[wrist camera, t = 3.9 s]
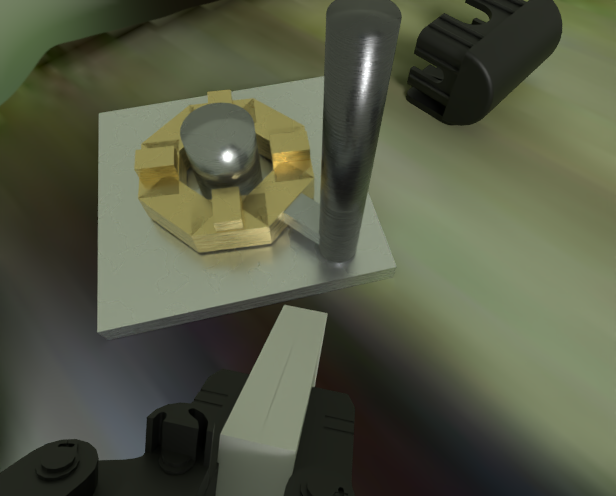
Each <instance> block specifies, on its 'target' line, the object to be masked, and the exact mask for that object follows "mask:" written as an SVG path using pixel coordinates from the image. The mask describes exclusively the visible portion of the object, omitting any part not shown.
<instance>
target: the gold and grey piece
mask: <svg viewBox="0 0 616 496" xmlns="http://www.w3.org/2000/svg"><path fill="white" fill-rule="evenodd" d="M400 23H401V12H400V10H399V8H398V7H397V6H396V5H395V4H394V3H393V2H392V1H390V0H335V1H333V2H332V3H331V4H330V6H329V7H328V9H327V13H326V41H325V70H324V100H323V129H322V159H321V188H320V204H319V203H317V202H316V201H314V200H313V199H312V198H313V197H314V173H313V168H312V163H311V158H310V146H309V141H308V136H307V131H305V127H304V125H302V124H300V123H298V122H296V121H295V120H293V119H291V118H289V117H287V116H285V115H284V114H282V113H280V112H278V111H276V110H274V109H272V108H271V107H269V106H267V105H265V104H263V103H261V102H260V101H258V100H256V99H254V98H251V99H241V100H233V99H232V94H231V89H230V90H220V91H211V92H207V93H208V103H203V104H194V105H189V106H188V107H186V108H185V109H184V110H183V111H181V112H180V113H179V114H178V115H176V116H175V117H174V118H173V119H171V120H170V121H169V122H168V123H166V124H165V125H164V126H163V127H161V128H160V129H159V130H158V131H156V132H155V133H154V134H153V135H152V136H150V137H149V138H148V139H147V140H145V141H144V142H143V143H142V144H141V149H139V150H136V151H135V165H134V170H135V172H136V174H137V175H138V177H139V190H138V200H139V201H140V203H141V205H142V206H143V208H144V210H145V211H146V213H147V215H148V216H149V217H150V218H151V219H153V220H154V221H155V222H157V223H158V224H160V225H161V226H162V227H164V228H165V229H167V230H168V231H169V232H171V233H172V234H174V235H175V236H176V237H178V238H179V239H181V240H182V241H183V242H185V243H186V244H187V245H189V246H190V247H192V248H193V249H194V250H196V251H197V252H199V253H201V252H209V251H217V250H225V249H233V248H240V247H248V246H256V245H264V244H272V242H273V241H274V240H275V239H276V238H277V237H278V236H279V235H280V234H281V232H282V231H283V230H284V229H285V228H286V227H287V226H288V225H289V226H290V227H292V228H293V229H295V230H297V231H298V232H300V233H301V234H303V235H304V236H306V237H308V238H309V239H311V240H312V241H314V242H315V243H317V244H319V251H320V253H321V255H322V256H323V257H324V258H325V259H326V260H328V261H330V262H333V263H344V262H347V261H349V260H350V259H351V258H352V257H353V256H354V255H355V253H356V250H357V245H358V240H359V235H360V229H361V224H362V219H363V214H364V209H365V204H366V199H367V193H368V188H369V183H370V178H371V173H372V168H373V162H374V157H375V152H376V147H377V142H378V137H379V132H380V126H381V121H382V116H383V111H384V106H385V101H386V95H387V90H388V85H389V80H390V75H391V70H392V65H393V59H394V54H395V49H396V44H397V39H398V34H399V28H400ZM212 103H231V104H235V105H237V106H240V107H242V108H243V109H245V110H246V111H247V112H248V113H249V114H250V115H251V117H252V118H253V121H254V126H255V132H256V139H257V145H258V152H259V154H261V155H263V156H264V157H266V158H268V159H269V160H271V161H272V166H273V171H272V172H271V173H270V174H269V175H268V176H267V177H266V178H265V179H264V180H263V181H262V182H261V183H260V184H259V185H258V186H257V187H255V188H254V189H253V190H252V191H251V192H250V193H249V194H248V195H243V196H241V194H240V190H239V186H238V187H229V188H221V189H212V199H209V200H207V199H206V198H204V197H203V196H201V195H200V194H198V193H197V192H195V191H194V190H192V189H191V188H189V187H188V186H187V170H188V169H189V168H190V167H191V165H190V162H189V159H188V157H187V154H186V151H185V148H184V146H183V143H182V140H181V137H180V128H181V125H182V123H183V121H184V120H185V118H186V117H187V116H188V115H189V114H190V113H191V112H193V111H194V110H196V109H197V108H199V107H202V106H204V105H207V104H212Z"/></svg>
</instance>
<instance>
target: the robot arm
mask: <svg viewBox="0 0 616 496" xmlns="http://www.w3.org/2000/svg"><path fill="white" fill-rule="evenodd" d="M327 314H328V313H323V312H318V311H313V310H308V309H303V308H298V307H292V306H287V305H284V307H283V309H282V311H281V313H280V315H279V317H278V319H277V321H276V323H275V325H274V327H273V329H272V331H271V333H270V335H269V337H268V339H267V341H266V343H265V345H264V347H263V349H262V351H261V353H260V355H259V357H258V359H257V361H256V363H255V365H254V367H253V369H252V371H251V373H250V375H249V374H244V373H240V372H235V371H231V370H226V369H221V370H220V371H218V372H216V373H215V374H213V375H212V376H210V377H209V378H208V379H207V381H206V382H205V384H204V385H203V387H202V388H201V391H200V392H199V393H198V394H197V396H196V397H195V399H194V402H192V403H191V404H190V403H175V404H168V405H166V406H163V407H161V408H159V409H156V410H155V411H154V412H153V413H151V414H150V415H149V416H148V417H147V428H146V445H145V453H144V455H143V456H141V457H138V458H134V459H126V460H101V461H98V455H97V451H96V449H95V448H94V447H93V446H92V445H91V444H89V443H88V442H84V441H81V440H77V439H71V440H59V441H55V442H52V443H48V444H46V445H44V446H42V447H40V448H38V449H36V450H34V451H32V452H31V453H29V454H28V455H26V456H25V457H23V458H22V459H20V460H19V461H17V462H16V463H14V464H13V465H11V466H10V467H8V468H7V469H5V470H4V471H2V472H1V473H0V496H355V494H354V492H353V489H352V482H351V476H352V456H353V434H354V415H355V407H354V405H353V403H352V401H351V399H350V398H349V396H348V394H344V393H339V392H334V391H330V390H325V389H320V388H316V387H314V386H315V381H316V375H317V370H318V364H319V358H320V353H321V347H322V342H323V336H324V331H325V325H326V319H327Z"/></svg>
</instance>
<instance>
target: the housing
mask: <svg viewBox="0 0 616 496" xmlns="http://www.w3.org/2000/svg"><path fill="white" fill-rule="evenodd" d="M231 94H232V99H233V100H241V99H251V98H254V99H256V100H258V101H260V102H261V103H263V104H265V105H267V106H269V107H271V108H272V109H274V110H276V111H278V112H280V113H282V114H284V115H285V116H287V117H289V118H291V119H293V120H295V121H296V122H298V123H300V124H302V125H304V127H305V131H307V136H308V141H309V146H310V158H311V163H312V168H313V173H314V197H313V198H312V199H313V200H314V201H316V202H317V203H319V204H320V188H321V159H322V129H323V100H324V76H323V77H317V78H310V79H304V80H298V81H292V82H286V83H280V84H274V85H268V86H262V87H256V88H250V89H243V90H237V91H231ZM203 103H208V95H207V96H201V97H195V98H189V99H183V100H176V101H170V102H164V103H158V104H152V105H146V106H140V107H134V108H128V109H122V110H115V111H109V112H103V113H99V164H98V318H97V332H98V333H99V334H100V335H102V336H103V337H105V338H106V339H107V340H111V339H116V338H121V337H125V336H130V335H134V334H139V333H143V332H148V331H152V330H157V329H161V328H166V327H170V326H175V325H179V324H184V323H188V322H193V321H197V320H202V319H206V318H211V317H215V316H220V315H224V314H229V313H234V312H238V311H243V310H247V309H252V308H256V307H261V306H265V305H270V304H274V303H279V302H283V301H288V300H292V299H297V298H301V297H306V296H310V295H315V294H319V293H324V292H328V291H333V290H337V289H342V288H346V287H351V286H356V285H360V284H365V283H369V282H374V281H378V280H383V279H387V278H392V277H393V275H394V272H395V270H396V264H395V261H394V259H393V256H392V253H391V251H390V248H389V246H388V243H387V240H386V238H385V235H384V232H383V230H382V227H381V224H380V222H379V219H378V217H377V214H376V211H375V209H374V206H373V203H372V201H371V198H370V196H369V193H367V199H366V204H365V209H364V214H363V219H362V224H361V229H360V235H359V240H358V245H357V250H356V253H355V255H354V256H353V257H352V258H351V259H350V260H349V261H347V262H344V263H333V262H330V261H328V260H326V259H325V258H324V257H323V256H322V255H321V253H320V251H319V244H317V243H315V242H314V241H312V240H311V239H309V238H308V237H306V236H304V235H303V234H301V233H300V232H298V231H297V230H295V229H293V228H292V227H290V226H289V225H288V226H287V227H286V228H285V229H284V230H283V231H282V232H281V234H280V235H279V236H278V237H277V238H276V239H275V240H274V241H273V242H272V244H264V245H256V246H248V247H240V248H233V249H225V250H217V251H209V252H201V253H199V252H197V251H196V250H194V249H193V248H192V247H190V246H189V245H187V244H186V243H185V242H183V241H182V240H181V239H179V238H178V237H176V236H175V235H174V234H172V233H171V232H169V231H168V230H167V229H165V228H164V227H162V226H161V225H160V224H158V223H157V222H155V221H154V220H153V219H151V218H150V217H149V216H148V215H147V213H146V211H145V210H144V208H143V206H142V205H141V203H140V201H139V200H138V190H139V177H138V175H137V174H136V172H135V170H134V165H135V151H136V150H139V149H141V144H142V143H143V142H144V141H145V140H147V139H148V138H149V137H150V136H152V135H153V134H154V133H155V132H156V131H158V130H159V129H160V128H161V127H163V126H164V125H165V124H166V123H168V122H169V121H170V120H171V119H173V118H174V117H175V116H176V115H178V114H179V113H180V112H181V111H183V110H184V109H185V108H186V107H188V106H189V105H194V104H203ZM180 137H181V140H182V143H183V146H184V148H185V151H186V154H187V157H188V159H189V162H190V165H191V167H190V168H189V169H188V170H187V186H188V187H189V188H191V189H192V190H194V191H195V192H197V193H198V194H200V195H201V196H203V197H204V198H206V199H207V200H209V199H212V189H221V188H229V187H238V186H239V190H240V194H241V196H243V195H248V194H249V193H250V192H251V191H252V190H253V189H254V188H255V187H257V186H258V185H259V184H260V183H261V182H262V181H263V180H264V179H265V178H266V177H267V176H268V175H269V174H270V173H271V172H272V171H273V166H272V161H271V160H269V159H268V158H266V157H264V156H263V155H261V154H259V152H258V145H257V139H256V132H255V126H254V121H253V118H252V117H251V115H250V114H249V113H248V112H247V111H246V110H245V109H243V108H242V107H240V106H237V105H235V104H231V103H212V104H207V105H204V106H202V107H199V108H197V109H196V110H194V111H193V112H191V113H190V114H189V115H188V116H187V117H186V118H185V120H184V121H183V123H182V125H181V128H180Z"/></svg>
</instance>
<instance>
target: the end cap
mask: <svg viewBox="0 0 616 496" xmlns="http://www.w3.org/2000/svg"><path fill="white" fill-rule="evenodd" d="M465 3H467V4H469V5H471V6H473V7H475V8H477V9H479V10H481V11H483V12H485V13H486V14H487V15H488V17H489V19H490V21H488V22H487V23H485V22H483V21H481V20H479V19H477V18H475V19H473V21H472V24H466V23H463V22H461V21H459V20H457V19H455V18H453V17H451V16H449V15H447V14H445V13H444V14H443V15H441V16H440V17H439V18H437V19H436V20H434V21H433V22H432V23H430V24H429V25H428V26H426V27H425V28H424V29H423V30H422V31H421V33H420V34H419V36H418V39H417V43H416V47H415V52H414V54H416V55H417V56H419V57H421V58H423V59H424V60H426V61H428V62H430V63H432V64H433V65H435V66H437V68H435V67H434V66H432V65H429V66H427V67H426V68H425V69H423V70H420V69H418V68H417V67H415V66H413V67H412V68H410V73H409V77H408V81H407V83H408V84H409V85H411V86H412V88H411V89H409V90H408V92H407V96H406V99H407V101H408V102H410V103H411V104H413V105H415V106H416V107H418V108H419V109H421V110H423V111H424V112H426V113H428V114H429V115H431V116H432V117H434V118H436V119H437V120H439V121H441V122H443V123H445V124H448V125H470V124H473V123H476V122H478V121H480V120H481V119H483V118H484V117H485V116H486V115H487V114H488V113H489V112H490V111H491V110H492V109H493V108H494V107H496V106H497V105H498V104H499V103H500V102H501V101H502V100H503V99H504V98H505V97H506V96H507V95H508V94H509V93H511V92H512V91H513V90H514V89H515V88H516V87H517V86H518V85H519V84H520V83H521V82H522V81H523V80H524V79H526V78H527V77H528V76H529V75H530V74H531V73H532V72H533V71H534V70H535V69H536V68H537V67H538V66H539V65H541V64H542V63H543V62H544V61H545V60H546V59H547V58H548V57H549V56H550V55H551V54H552V53H553V52H554V50H555V49H556V47H557V45H558V43H559V41H560V38H561V34H562V19H561V14H560V12H559V9H558V7H557V6H556V4H555V3H554V1H553V0H529V1H528V2H526V1H524V0H466V1H465Z"/></svg>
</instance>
